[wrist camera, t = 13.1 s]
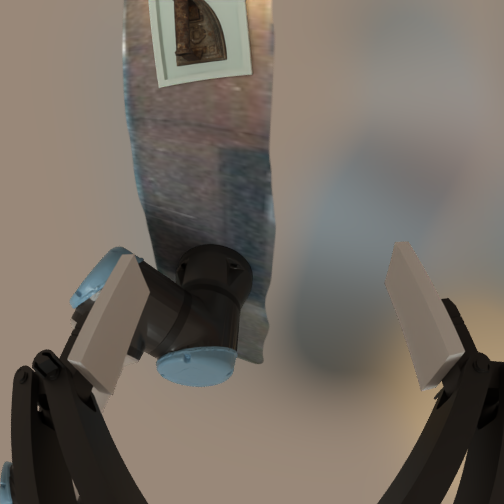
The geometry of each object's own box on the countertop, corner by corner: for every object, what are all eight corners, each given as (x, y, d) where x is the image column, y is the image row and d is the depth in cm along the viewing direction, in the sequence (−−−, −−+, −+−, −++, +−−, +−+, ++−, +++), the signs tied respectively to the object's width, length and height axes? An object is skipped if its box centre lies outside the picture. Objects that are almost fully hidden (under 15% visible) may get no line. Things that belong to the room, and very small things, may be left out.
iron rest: (252, 74, 34) (251, 74, 32) (164, 86, 35) (158, 87, 33) (242, -27, 24) (241, -32, 22) (153, -10, 25) (147, -14, 23)
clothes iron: (180, 71, 33) (146, 57, 24) (180, 9, 29) (149, -16, 20) (227, 64, 32) (204, 45, 23) (225, 0, 28) (205, -31, 19)
